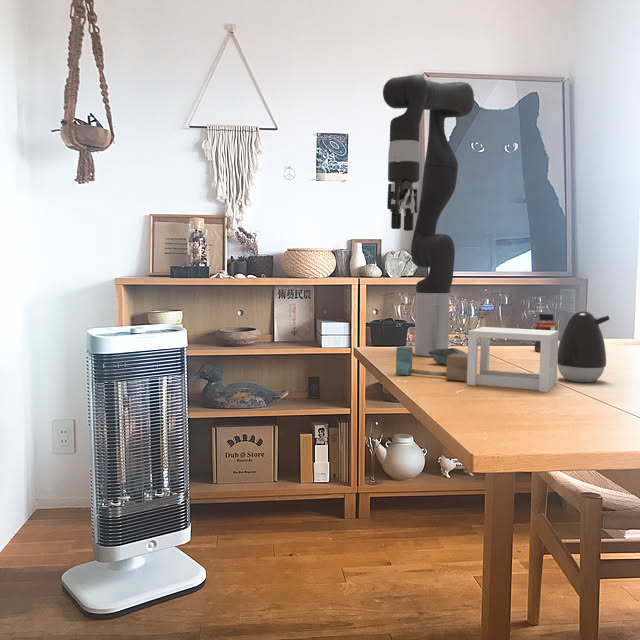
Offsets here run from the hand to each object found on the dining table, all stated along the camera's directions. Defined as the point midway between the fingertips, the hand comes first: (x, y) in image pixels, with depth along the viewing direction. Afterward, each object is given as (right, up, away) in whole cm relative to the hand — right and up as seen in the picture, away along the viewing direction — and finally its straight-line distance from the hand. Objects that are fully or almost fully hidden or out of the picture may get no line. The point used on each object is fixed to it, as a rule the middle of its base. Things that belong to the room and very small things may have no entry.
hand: (402, 229), depth 169 cm
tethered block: (+5, -34, -15) cm, 38 cm away
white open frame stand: (+20, -35, -23) cm, 47 cm away
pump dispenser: (+37, -35, -17) cm, 54 cm away
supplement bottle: (+46, -31, +37) cm, 67 cm away
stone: (+14, -33, +6) cm, 37 cm away
